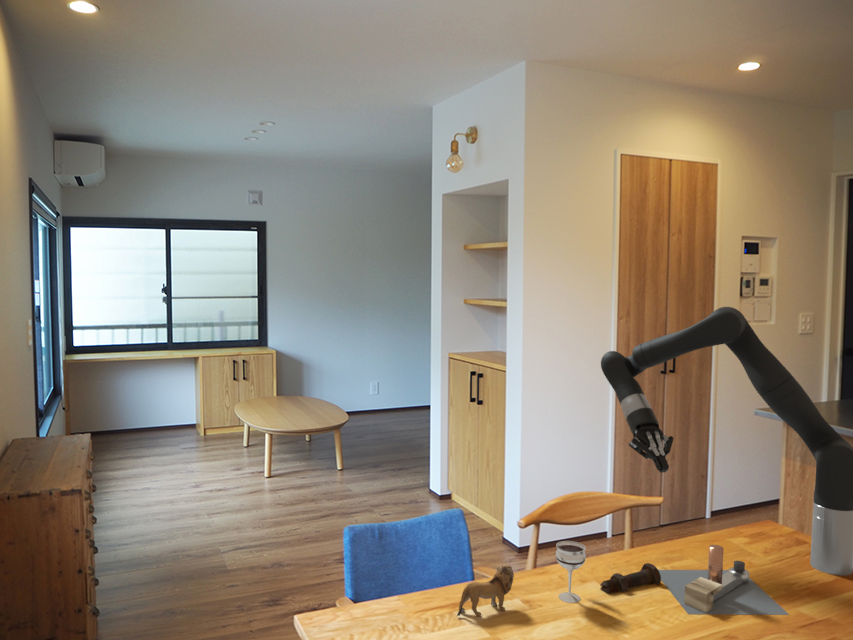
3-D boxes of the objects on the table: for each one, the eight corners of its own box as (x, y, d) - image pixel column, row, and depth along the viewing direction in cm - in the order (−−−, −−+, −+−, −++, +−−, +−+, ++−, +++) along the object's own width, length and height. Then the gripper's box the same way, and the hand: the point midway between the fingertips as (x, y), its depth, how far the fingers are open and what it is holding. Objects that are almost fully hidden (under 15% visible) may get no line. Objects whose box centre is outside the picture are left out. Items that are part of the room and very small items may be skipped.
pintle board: (652, 574, 168) (653, 552, 168) (740, 574, 169) (741, 552, 168) (688, 619, 146) (689, 594, 146) (789, 619, 147) (790, 594, 146)
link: (733, 573, 166) (735, 529, 165) (752, 580, 162) (754, 535, 162) (696, 595, 154) (698, 548, 153) (715, 603, 151) (717, 554, 150)
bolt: (601, 603, 157) (650, 588, 164) (614, 601, 153) (664, 586, 159) (593, 577, 159) (642, 563, 166) (605, 574, 155) (655, 561, 162)
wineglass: (587, 594, 157) (588, 543, 157) (581, 607, 151) (582, 554, 150) (558, 588, 160) (559, 538, 159) (551, 600, 154) (552, 549, 153)
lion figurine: (504, 597, 156) (504, 558, 155) (518, 607, 151) (519, 567, 150) (450, 613, 148) (451, 573, 147) (464, 624, 143) (465, 582, 143)
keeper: (699, 594, 155) (700, 576, 155) (721, 602, 152) (722, 584, 151) (684, 603, 151) (684, 585, 151) (705, 612, 147) (706, 594, 147)
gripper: (623, 407, 181) (648, 465, 170) (666, 405, 184) (693, 462, 173) (611, 423, 186) (635, 480, 175) (653, 420, 190) (679, 476, 179)
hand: (664, 470), depth 174 cm, fingers closed
